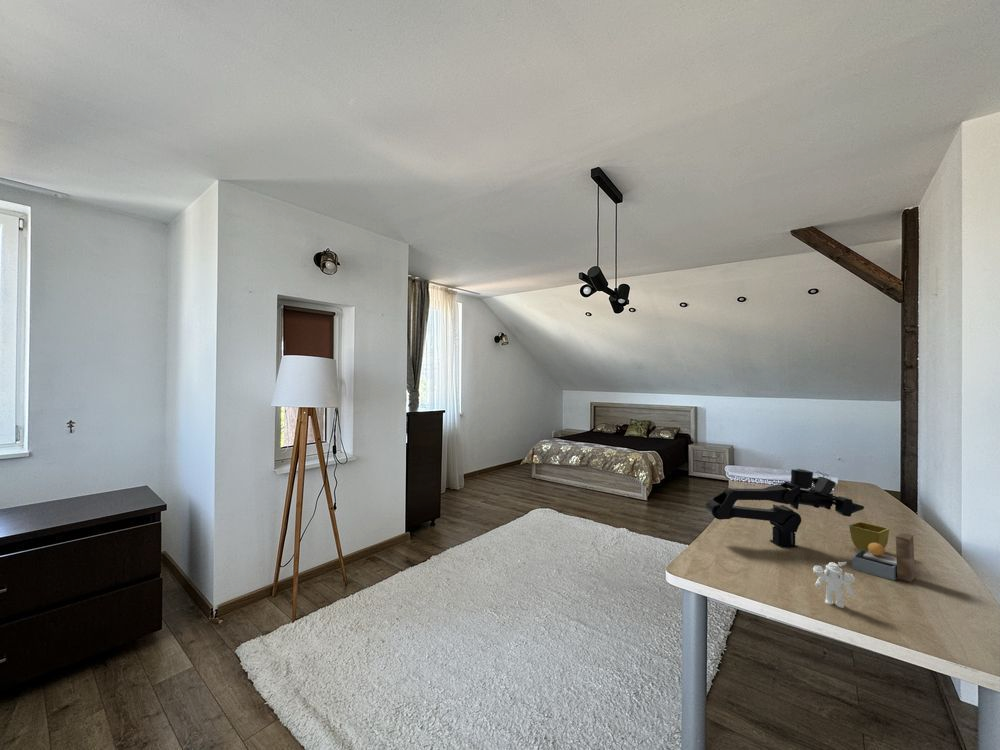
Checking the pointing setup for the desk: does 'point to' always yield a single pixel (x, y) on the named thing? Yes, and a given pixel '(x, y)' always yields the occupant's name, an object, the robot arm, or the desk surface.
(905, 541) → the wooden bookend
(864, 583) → the desk surface
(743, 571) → the desk surface
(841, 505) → the robot arm
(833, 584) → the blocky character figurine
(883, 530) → the flower pot
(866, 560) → the shallow blue-grey tray
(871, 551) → the ball
